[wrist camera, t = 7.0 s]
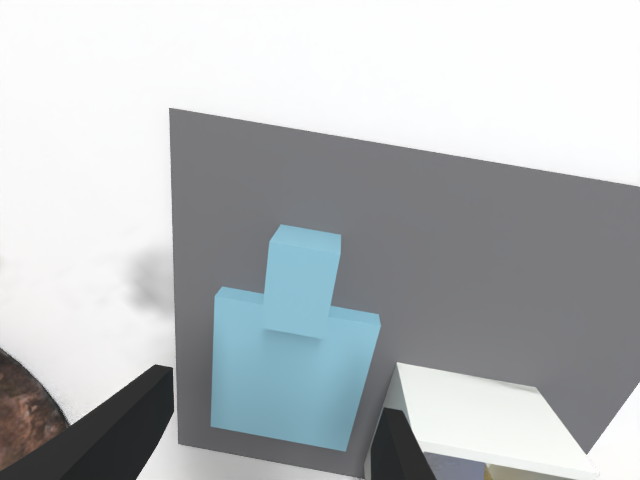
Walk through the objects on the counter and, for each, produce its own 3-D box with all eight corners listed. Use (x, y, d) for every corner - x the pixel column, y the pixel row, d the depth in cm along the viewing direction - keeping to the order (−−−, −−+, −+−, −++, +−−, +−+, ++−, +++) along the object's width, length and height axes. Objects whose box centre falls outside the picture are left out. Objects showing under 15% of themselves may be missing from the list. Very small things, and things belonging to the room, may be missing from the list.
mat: (541, 507, 21) (544, 512, 20) (180, 439, 21) (178, 443, 21) (756, 206, 13) (765, 208, 13) (173, 108, 13) (169, 108, 13)
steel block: (460, 431, 18) (482, 488, 15) (406, 431, 18) (417, 487, 15) (463, 391, 17) (488, 444, 14) (405, 392, 17) (418, 444, 14)
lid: (345, 436, 19) (345, 476, 17) (217, 412, 19) (200, 449, 17) (397, 244, 14) (407, 265, 12) (225, 214, 14) (203, 230, 12)
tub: (480, 485, 20) (516, 580, 16) (364, 464, 20) (369, 552, 16) (535, 387, 17) (599, 473, 13) (396, 362, 17) (414, 439, 13)
